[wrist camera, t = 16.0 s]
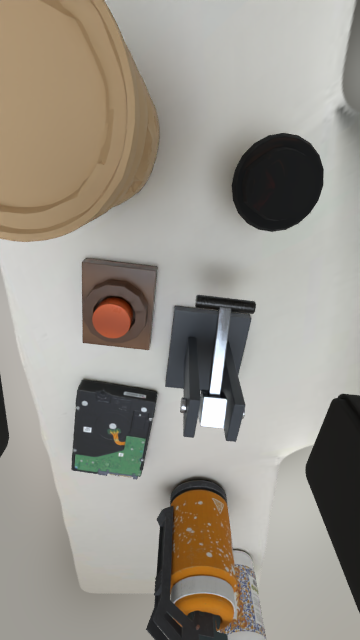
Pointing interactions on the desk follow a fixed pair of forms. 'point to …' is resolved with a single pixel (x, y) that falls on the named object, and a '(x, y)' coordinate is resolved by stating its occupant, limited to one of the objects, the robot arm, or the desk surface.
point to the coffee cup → (277, 182)
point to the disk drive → (112, 428)
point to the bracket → (206, 364)
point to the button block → (124, 284)
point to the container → (68, 118)
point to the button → (112, 317)
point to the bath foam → (245, 603)
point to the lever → (218, 357)
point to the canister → (194, 566)
